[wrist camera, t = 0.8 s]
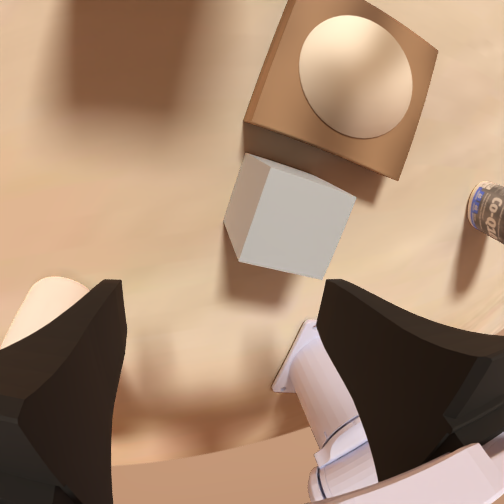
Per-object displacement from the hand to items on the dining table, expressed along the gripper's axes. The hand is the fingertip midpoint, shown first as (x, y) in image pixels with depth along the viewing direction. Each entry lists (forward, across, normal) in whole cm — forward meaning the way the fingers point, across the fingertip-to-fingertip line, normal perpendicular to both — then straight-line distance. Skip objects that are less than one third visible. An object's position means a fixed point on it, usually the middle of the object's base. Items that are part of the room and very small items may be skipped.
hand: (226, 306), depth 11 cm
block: (+10, -4, -2) cm, 11 cm away
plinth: (+10, -8, -10) cm, 16 cm away
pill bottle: (+10, -25, -3) cm, 27 cm away
